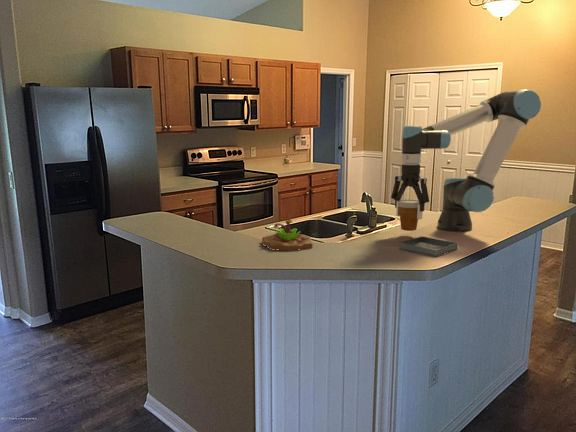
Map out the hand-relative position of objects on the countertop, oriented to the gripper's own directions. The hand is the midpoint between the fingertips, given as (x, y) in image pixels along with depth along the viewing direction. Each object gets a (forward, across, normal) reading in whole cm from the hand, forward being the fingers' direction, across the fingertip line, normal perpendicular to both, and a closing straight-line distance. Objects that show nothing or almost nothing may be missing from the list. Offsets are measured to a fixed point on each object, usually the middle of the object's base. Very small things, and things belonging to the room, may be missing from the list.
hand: (409, 217), depth 202 cm
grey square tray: (+8, +17, -12) cm, 22 cm away
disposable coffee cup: (+5, 0, 0) cm, 5 cm away
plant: (+8, -25, -46) cm, 53 cm away
